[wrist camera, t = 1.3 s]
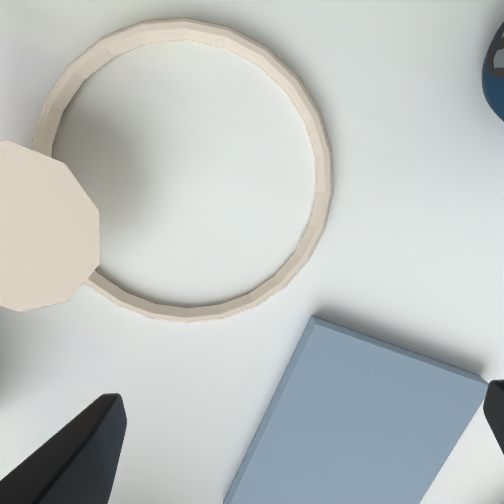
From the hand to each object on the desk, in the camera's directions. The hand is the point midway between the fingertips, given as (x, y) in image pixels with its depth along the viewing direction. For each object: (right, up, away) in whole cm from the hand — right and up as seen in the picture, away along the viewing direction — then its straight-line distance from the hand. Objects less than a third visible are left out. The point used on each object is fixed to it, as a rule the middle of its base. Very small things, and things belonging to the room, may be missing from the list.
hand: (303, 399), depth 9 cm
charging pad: (+6, -10, +17) cm, 21 cm away
